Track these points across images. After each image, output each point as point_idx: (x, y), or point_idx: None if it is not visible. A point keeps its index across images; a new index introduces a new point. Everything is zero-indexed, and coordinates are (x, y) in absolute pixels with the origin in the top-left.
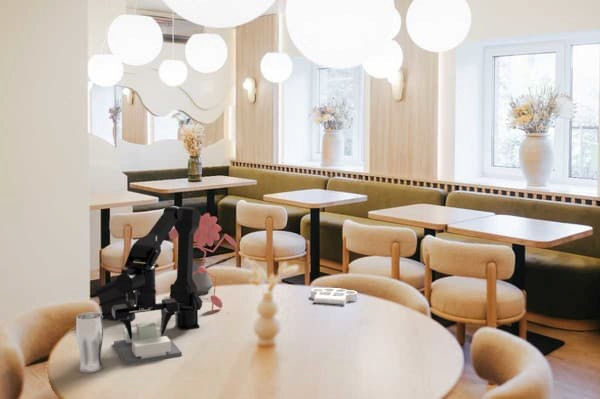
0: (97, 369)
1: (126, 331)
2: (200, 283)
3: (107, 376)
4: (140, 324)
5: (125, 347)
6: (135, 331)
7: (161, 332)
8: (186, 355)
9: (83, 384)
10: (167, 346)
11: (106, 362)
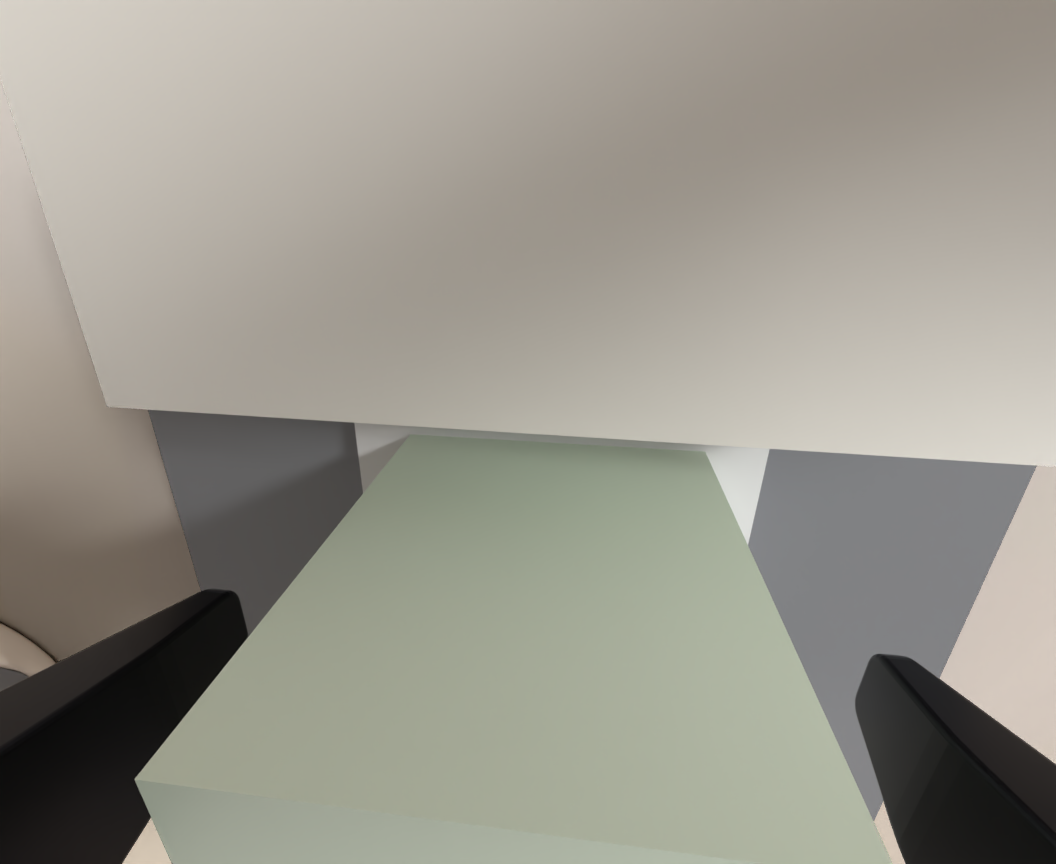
0: None
1: (65, 216)
2: None
3: (149, 836)
4: None
5: (250, 417)
6: (315, 347)
7: (881, 736)
8: (886, 826)
9: None
10: None
11: (96, 619)
